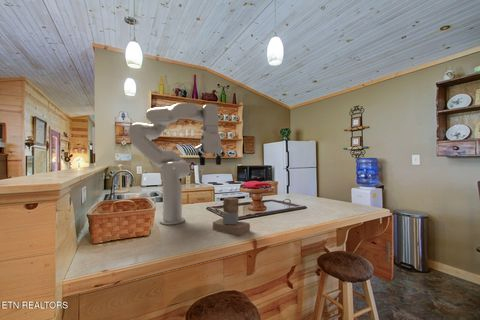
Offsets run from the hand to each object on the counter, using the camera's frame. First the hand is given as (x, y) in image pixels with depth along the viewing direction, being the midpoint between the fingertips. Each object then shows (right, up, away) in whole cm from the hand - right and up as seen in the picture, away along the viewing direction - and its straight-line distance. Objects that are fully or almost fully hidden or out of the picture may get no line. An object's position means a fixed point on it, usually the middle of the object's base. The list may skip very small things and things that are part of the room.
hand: (210, 165), depth 110 cm
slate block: (+10, -27, -6) cm, 29 cm away
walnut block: (+10, -22, -5) cm, 24 cm away
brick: (+10, -31, -5) cm, 33 cm away
